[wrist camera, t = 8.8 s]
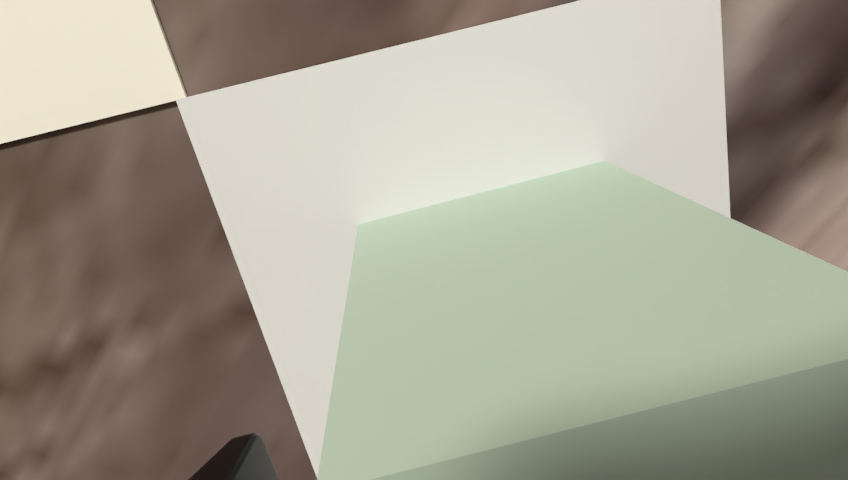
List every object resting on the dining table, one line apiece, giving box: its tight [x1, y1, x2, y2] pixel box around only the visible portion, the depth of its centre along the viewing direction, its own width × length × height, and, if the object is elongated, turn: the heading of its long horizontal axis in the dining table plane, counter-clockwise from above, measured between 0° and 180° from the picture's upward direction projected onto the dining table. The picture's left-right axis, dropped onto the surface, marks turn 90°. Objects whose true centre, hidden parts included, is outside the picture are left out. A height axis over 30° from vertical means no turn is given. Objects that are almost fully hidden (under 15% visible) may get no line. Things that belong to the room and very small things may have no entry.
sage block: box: [317, 161, 848, 480], centre depth 8 cm, size 5×5×7 cm
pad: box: [176, 0, 730, 477], centre depth 12 cm, size 10×11×1 cm
